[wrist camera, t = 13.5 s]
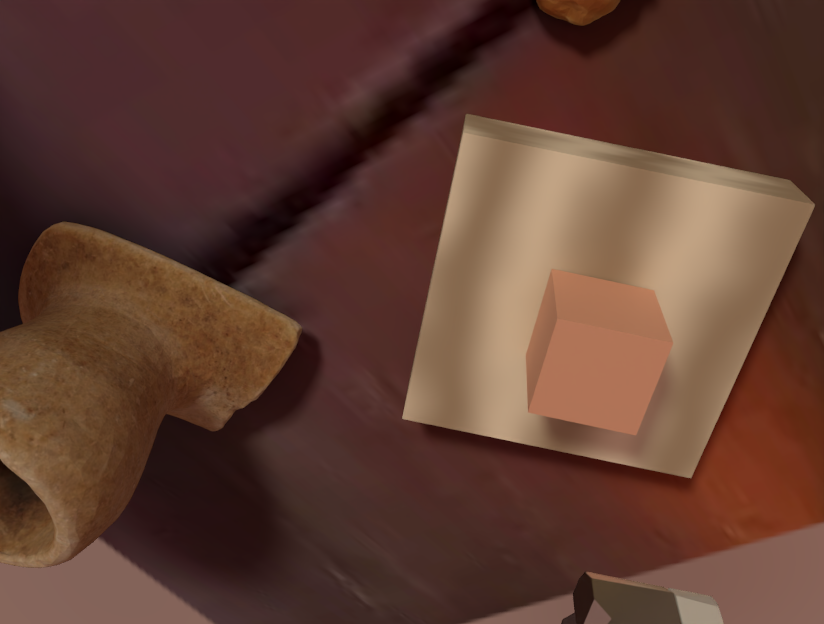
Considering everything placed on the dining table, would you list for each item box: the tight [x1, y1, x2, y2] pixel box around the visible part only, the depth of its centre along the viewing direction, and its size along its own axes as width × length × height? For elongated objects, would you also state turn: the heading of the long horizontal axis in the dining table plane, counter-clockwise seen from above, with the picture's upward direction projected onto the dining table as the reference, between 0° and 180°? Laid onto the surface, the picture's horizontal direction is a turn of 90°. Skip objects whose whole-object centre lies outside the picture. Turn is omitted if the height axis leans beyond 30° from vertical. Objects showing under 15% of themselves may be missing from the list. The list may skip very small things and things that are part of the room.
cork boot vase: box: [0, 222, 302, 568], centre depth 39 cm, size 15×12×15 cm
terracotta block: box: [526, 269, 673, 435], centre depth 36 cm, size 5×5×5 cm
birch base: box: [402, 114, 815, 478], centre depth 40 cm, size 16×16×4 cm
